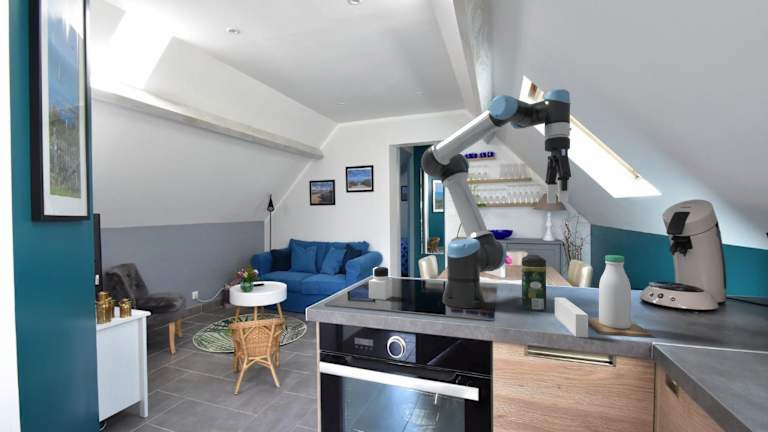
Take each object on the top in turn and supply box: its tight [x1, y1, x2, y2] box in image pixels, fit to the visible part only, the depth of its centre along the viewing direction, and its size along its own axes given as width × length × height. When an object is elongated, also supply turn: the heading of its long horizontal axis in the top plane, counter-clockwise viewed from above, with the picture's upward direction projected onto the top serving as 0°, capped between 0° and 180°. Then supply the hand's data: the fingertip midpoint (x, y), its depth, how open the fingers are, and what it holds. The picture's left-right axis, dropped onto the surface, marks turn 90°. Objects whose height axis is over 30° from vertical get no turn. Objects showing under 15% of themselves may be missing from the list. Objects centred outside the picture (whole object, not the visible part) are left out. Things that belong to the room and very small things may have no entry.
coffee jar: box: [521, 254, 547, 312], centre depth 122 cm, size 10×8×19 cm
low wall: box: [554, 296, 589, 338], centre depth 103 cm, size 3×20×6 cm, turn 168°
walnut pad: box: [588, 317, 655, 338], centre depth 100 cm, size 13×13×1 cm
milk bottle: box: [598, 254, 632, 329], centre depth 100 cm, size 8×8×20 cm
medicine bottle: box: [368, 266, 393, 301], centre depth 138 cm, size 7×7×12 cm
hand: (557, 202), depth 115 cm, fingers open, 13 cm apart
